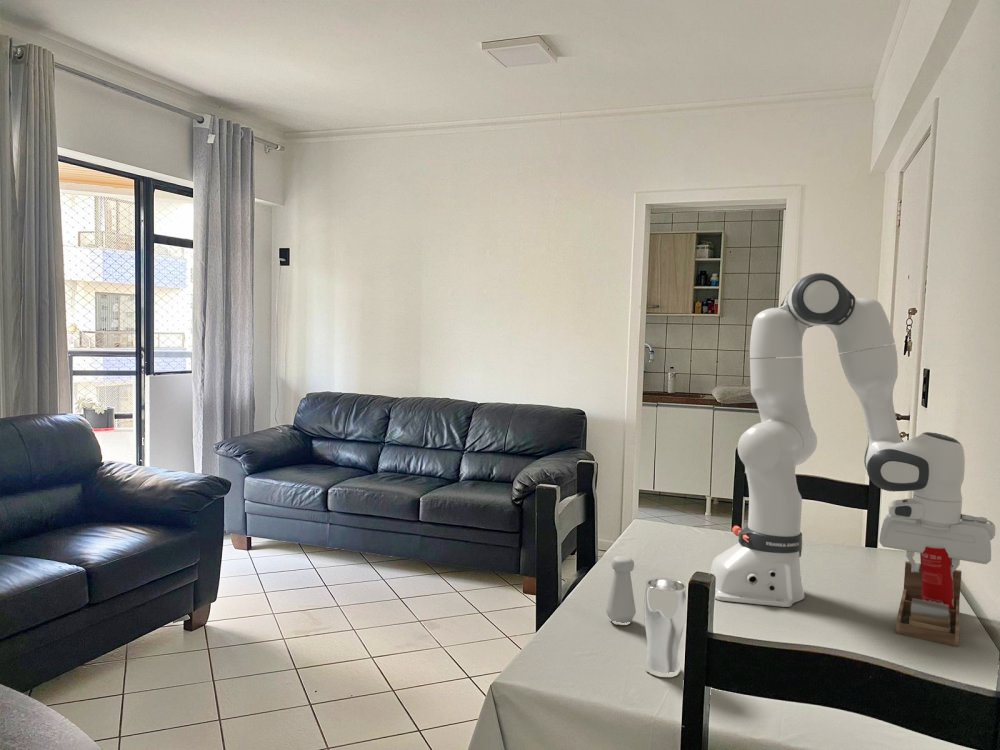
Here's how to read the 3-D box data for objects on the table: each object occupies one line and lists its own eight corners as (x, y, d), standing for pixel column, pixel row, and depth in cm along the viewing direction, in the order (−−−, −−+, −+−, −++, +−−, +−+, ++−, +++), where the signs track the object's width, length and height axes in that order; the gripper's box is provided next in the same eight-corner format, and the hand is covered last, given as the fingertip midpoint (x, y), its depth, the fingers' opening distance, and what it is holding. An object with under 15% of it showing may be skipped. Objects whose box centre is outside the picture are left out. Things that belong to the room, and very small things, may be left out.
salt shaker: (612, 629, 140) (615, 563, 139) (600, 617, 146) (603, 554, 145) (640, 626, 142) (643, 561, 141) (627, 615, 147) (630, 552, 146)
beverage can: (958, 621, 149) (961, 549, 148) (923, 618, 150) (925, 547, 150) (948, 611, 155) (950, 541, 154) (914, 608, 156) (916, 539, 155)
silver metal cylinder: (949, 637, 142) (951, 613, 141) (908, 628, 145) (910, 605, 145) (949, 628, 146) (951, 605, 146) (910, 620, 150) (911, 597, 149)
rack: (958, 646, 137) (961, 600, 136) (895, 632, 142) (898, 588, 142) (958, 612, 155) (961, 570, 154) (903, 601, 160) (905, 561, 160)
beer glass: (676, 660, 127) (680, 577, 126) (688, 680, 120) (692, 591, 119) (637, 660, 127) (640, 576, 126) (646, 679, 120) (650, 591, 119)
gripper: (995, 516, 149) (990, 581, 150) (883, 500, 160) (879, 561, 161) (996, 522, 143) (991, 590, 144) (880, 505, 154) (876, 569, 155)
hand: (931, 575), depth 153 cm, fingers closed on beverage can, 5 cm apart
